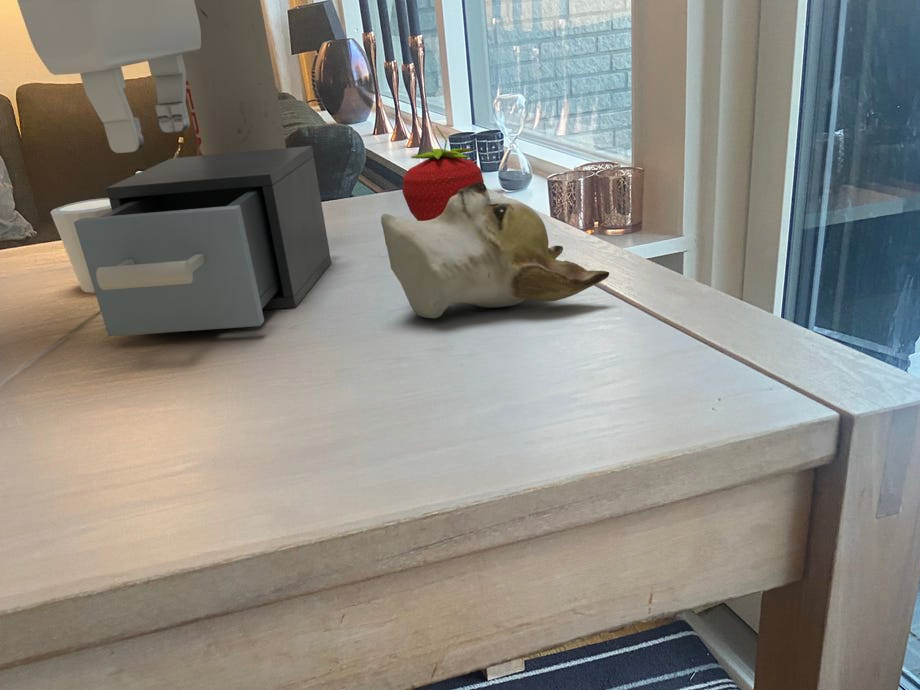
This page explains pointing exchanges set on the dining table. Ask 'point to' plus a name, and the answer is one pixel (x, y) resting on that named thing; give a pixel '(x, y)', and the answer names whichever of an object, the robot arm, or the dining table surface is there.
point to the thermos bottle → (233, 80)
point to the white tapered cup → (68, 234)
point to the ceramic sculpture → (480, 256)
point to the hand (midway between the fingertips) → (154, 140)
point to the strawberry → (438, 181)
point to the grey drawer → (182, 262)
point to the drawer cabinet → (285, 196)
